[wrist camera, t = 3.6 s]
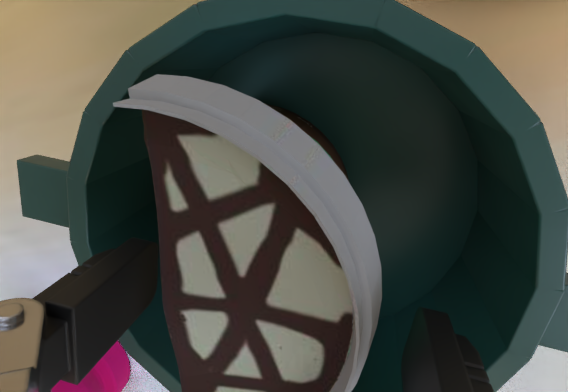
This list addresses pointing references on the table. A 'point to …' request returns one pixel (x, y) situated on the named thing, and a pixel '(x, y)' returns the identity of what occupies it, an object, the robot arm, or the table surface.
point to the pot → (350, 169)
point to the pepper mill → (102, 374)
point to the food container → (256, 243)
